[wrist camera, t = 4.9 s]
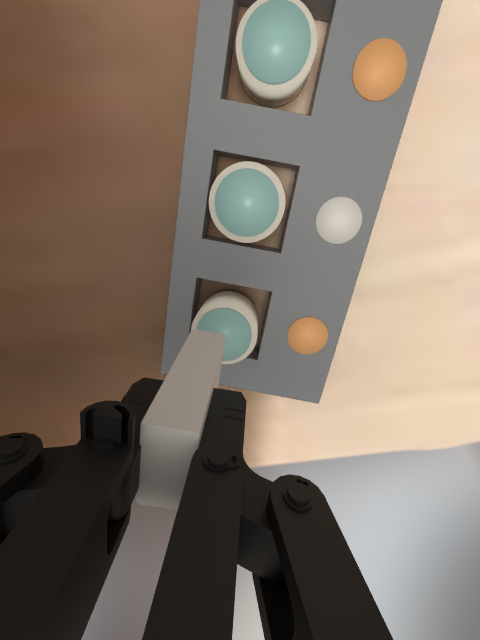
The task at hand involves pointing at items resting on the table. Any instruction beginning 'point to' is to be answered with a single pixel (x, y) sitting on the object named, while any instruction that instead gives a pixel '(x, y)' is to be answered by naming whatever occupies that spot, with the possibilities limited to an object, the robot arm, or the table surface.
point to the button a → (230, 323)
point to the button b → (247, 202)
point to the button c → (275, 50)
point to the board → (296, 183)
